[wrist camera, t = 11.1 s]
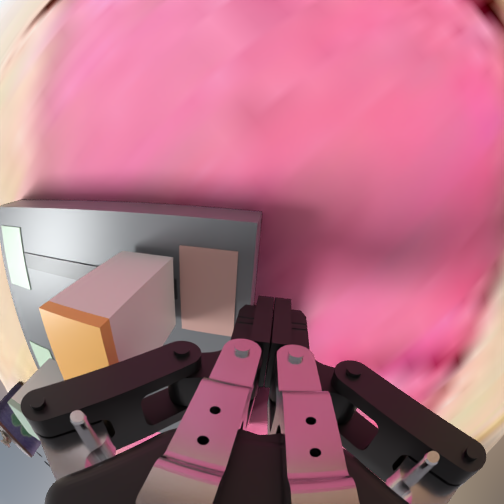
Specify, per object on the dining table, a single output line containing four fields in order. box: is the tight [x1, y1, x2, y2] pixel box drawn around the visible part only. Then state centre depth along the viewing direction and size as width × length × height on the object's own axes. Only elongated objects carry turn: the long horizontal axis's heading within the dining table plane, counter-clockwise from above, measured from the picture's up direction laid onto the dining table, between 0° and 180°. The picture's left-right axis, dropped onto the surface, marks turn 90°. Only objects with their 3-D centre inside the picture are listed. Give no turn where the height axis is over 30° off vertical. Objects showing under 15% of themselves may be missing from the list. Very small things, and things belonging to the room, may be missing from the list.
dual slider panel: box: [0, 200, 262, 433], centre depth 18 cm, size 21×19×3 cm
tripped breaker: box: [39, 251, 176, 380], centre depth 11 cm, size 3×4×7 cm
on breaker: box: [7, 358, 64, 440], centre depth 16 cm, size 3×4×7 cm
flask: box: [0, 382, 41, 457], centre depth 24 cm, size 9×3×11 cm, turn 24°
